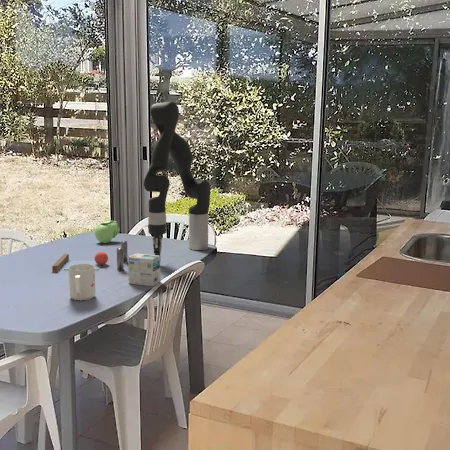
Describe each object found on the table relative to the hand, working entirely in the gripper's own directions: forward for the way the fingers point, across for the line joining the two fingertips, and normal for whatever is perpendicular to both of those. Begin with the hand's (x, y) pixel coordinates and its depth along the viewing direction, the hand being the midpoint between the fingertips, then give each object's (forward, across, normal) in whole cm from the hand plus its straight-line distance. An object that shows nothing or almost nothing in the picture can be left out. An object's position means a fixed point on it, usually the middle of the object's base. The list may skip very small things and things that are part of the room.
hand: (157, 262), depth 244 cm
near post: (+2, -6, +15) cm, 16 cm away
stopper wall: (+2, 0, +41) cm, 41 cm away
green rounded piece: (+2, +43, +28) cm, 51 cm away
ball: (-1, +1, +24) cm, 24 cm away
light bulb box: (+2, -25, +3) cm, 25 cm away
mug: (+2, -44, +23) cm, 50 cm away
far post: (+2, +6, +15) cm, 16 cm away
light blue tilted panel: (+2, 0, +31) cm, 31 cm away
